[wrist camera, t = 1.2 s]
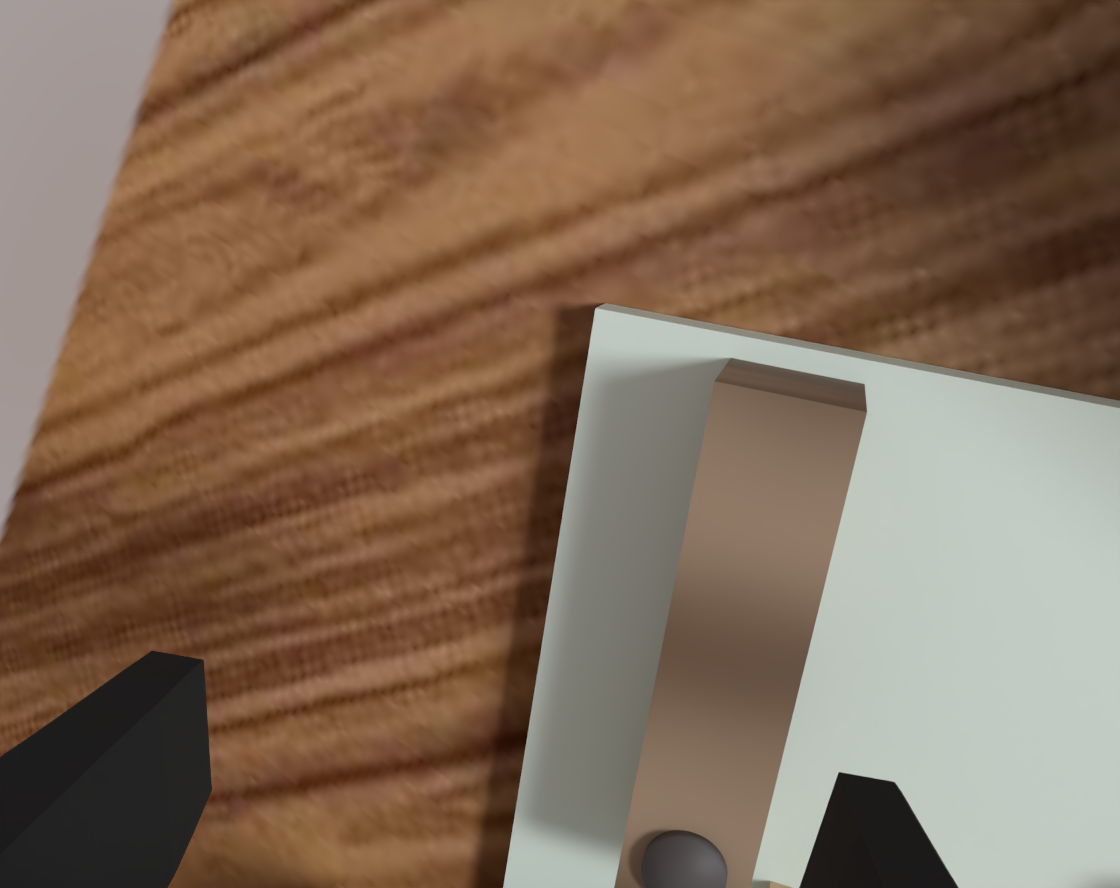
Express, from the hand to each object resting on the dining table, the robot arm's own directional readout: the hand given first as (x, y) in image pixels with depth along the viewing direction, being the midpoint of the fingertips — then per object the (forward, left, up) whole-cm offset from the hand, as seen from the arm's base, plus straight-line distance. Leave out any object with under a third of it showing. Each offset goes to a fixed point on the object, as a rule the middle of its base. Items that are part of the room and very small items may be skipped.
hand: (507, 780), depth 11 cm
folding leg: (-3, -2, -12) cm, 12 cm away
